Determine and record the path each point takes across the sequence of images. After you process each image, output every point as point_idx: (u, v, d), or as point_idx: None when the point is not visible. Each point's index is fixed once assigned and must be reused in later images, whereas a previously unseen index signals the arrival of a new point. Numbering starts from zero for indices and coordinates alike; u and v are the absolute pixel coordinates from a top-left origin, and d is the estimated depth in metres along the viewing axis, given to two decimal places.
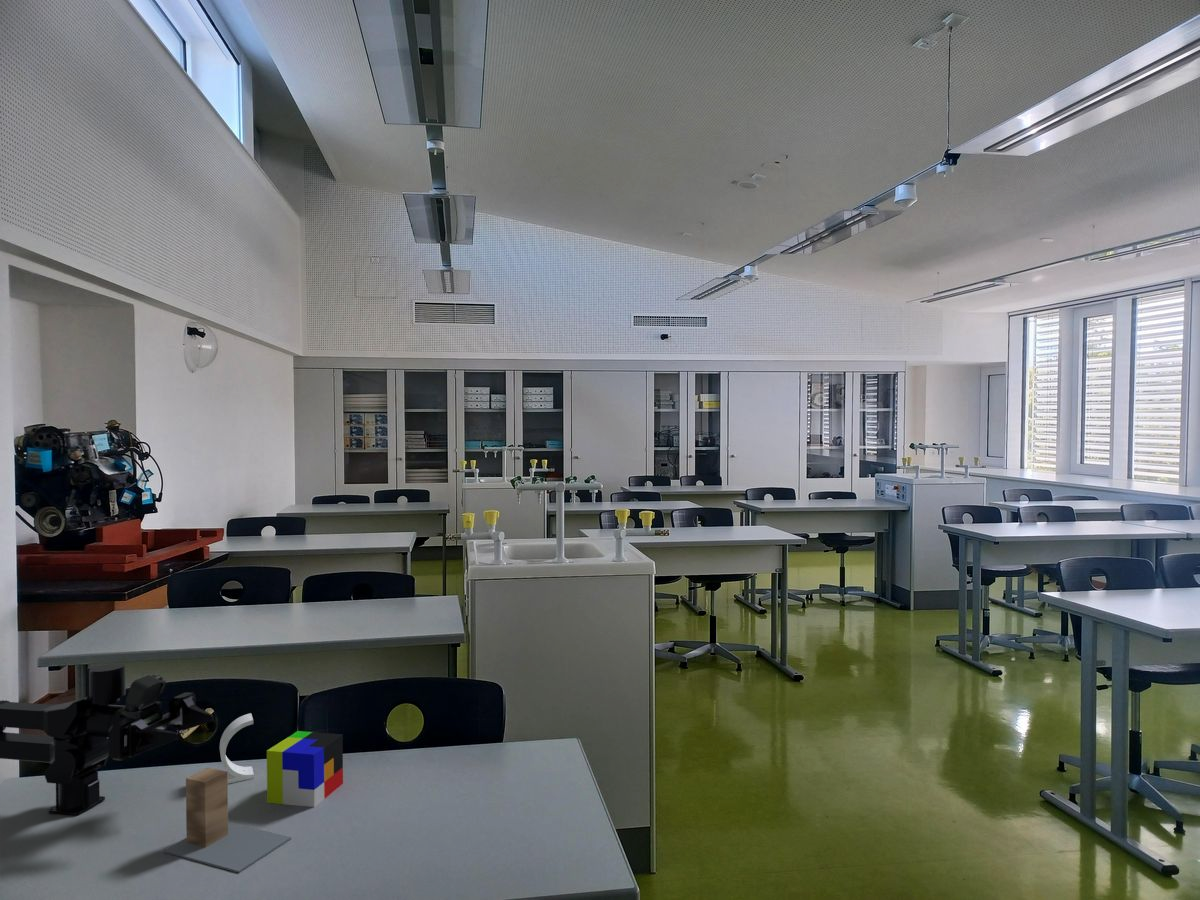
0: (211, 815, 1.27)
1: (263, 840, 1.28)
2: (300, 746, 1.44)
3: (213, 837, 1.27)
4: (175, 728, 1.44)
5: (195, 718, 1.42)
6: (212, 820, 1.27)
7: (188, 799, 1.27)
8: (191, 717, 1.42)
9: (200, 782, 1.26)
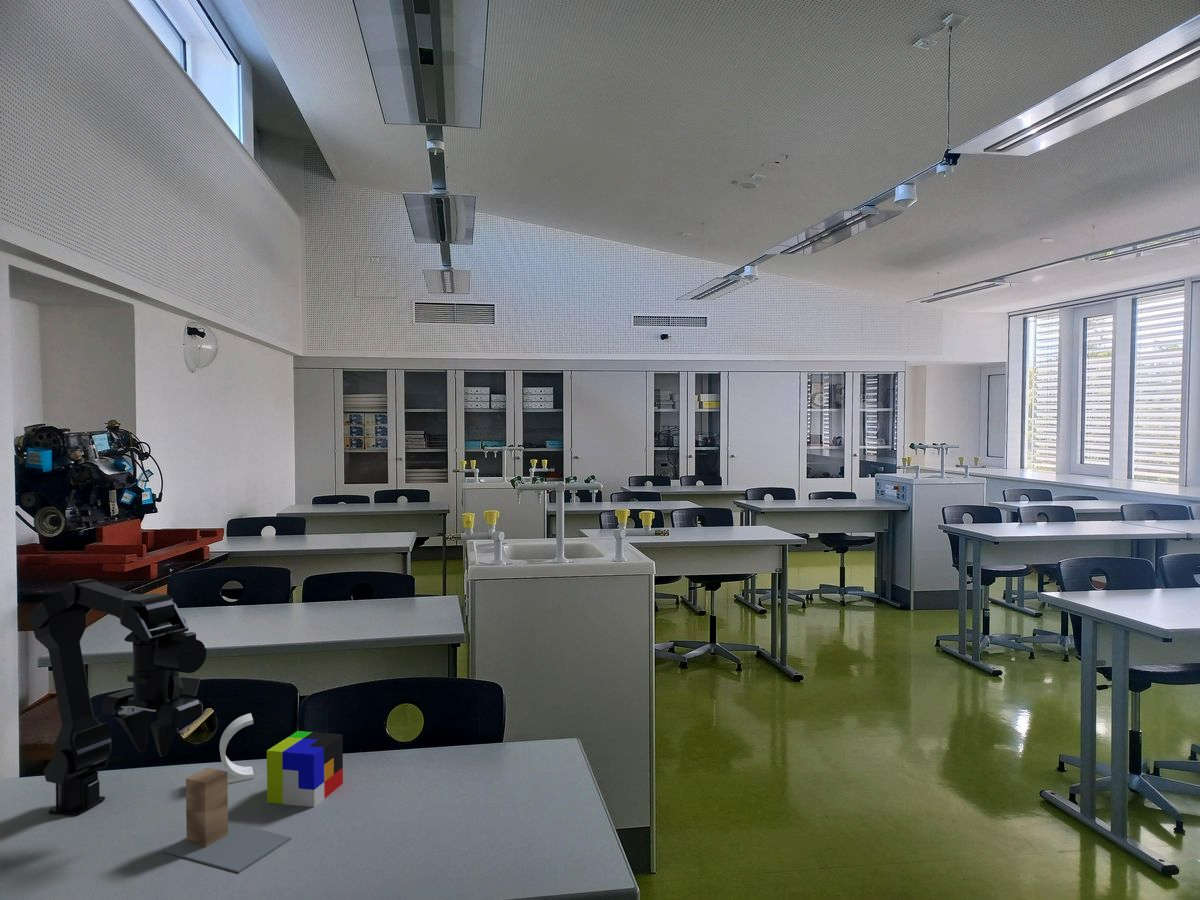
0: (211, 815, 1.27)
1: (263, 840, 1.28)
2: (300, 746, 1.44)
3: (213, 837, 1.27)
4: (116, 707, 1.33)
5: (139, 731, 1.34)
6: (212, 820, 1.27)
7: (188, 799, 1.27)
8: (139, 725, 1.34)
9: (200, 782, 1.26)
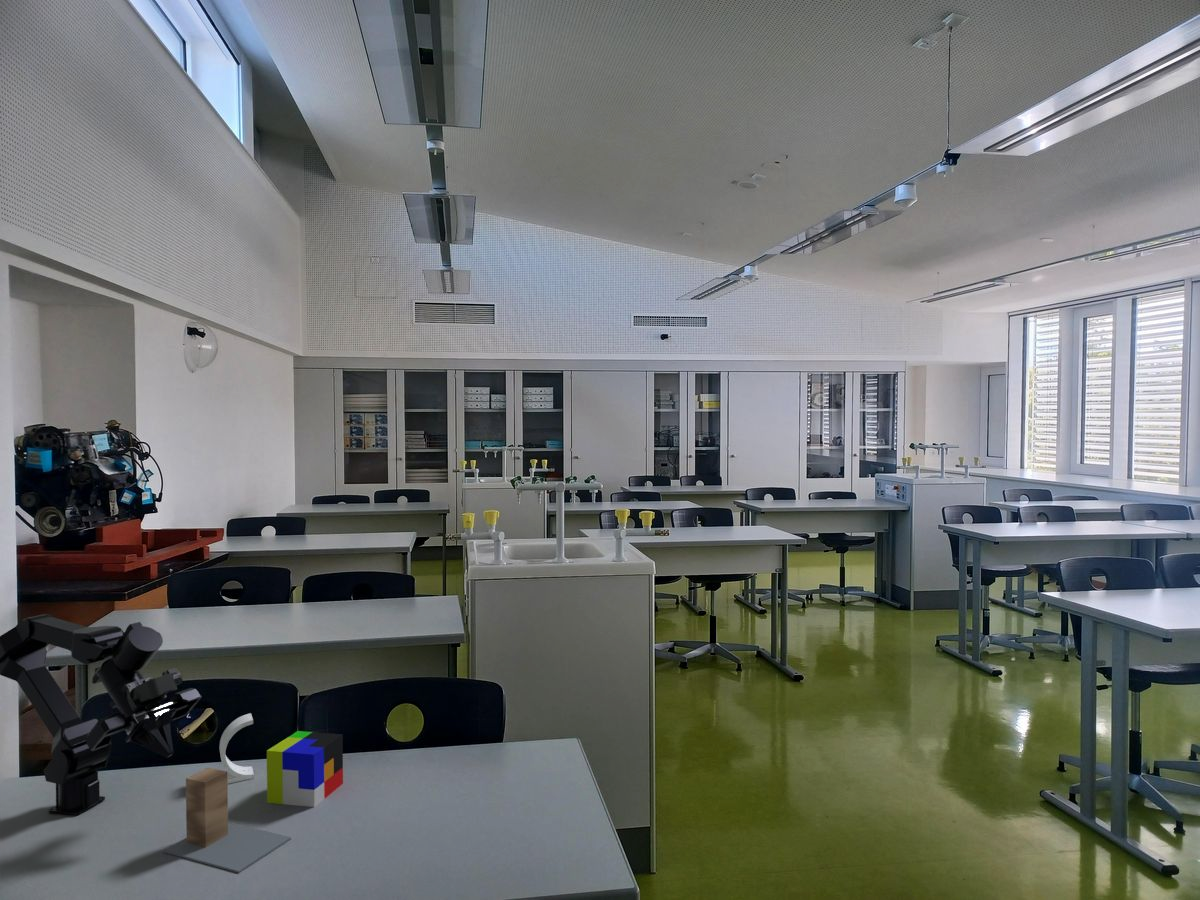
0: (211, 815, 1.27)
1: (263, 840, 1.28)
2: (300, 746, 1.44)
3: (213, 837, 1.27)
4: None
5: None
6: (212, 820, 1.27)
7: (188, 799, 1.27)
8: None
9: (200, 782, 1.26)
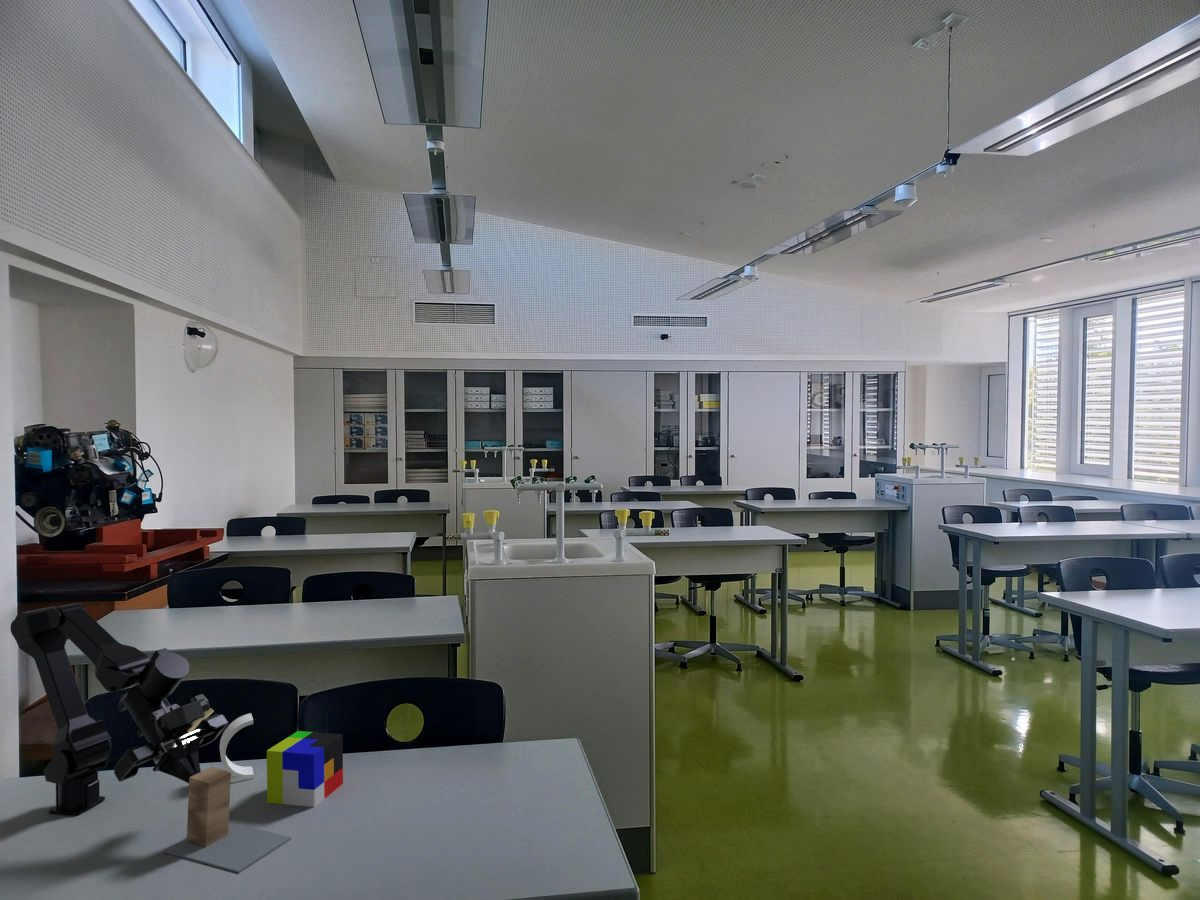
0: (213, 815, 1.27)
1: (263, 840, 1.28)
2: (300, 746, 1.44)
3: (213, 837, 1.27)
4: None
5: None
6: (213, 820, 1.27)
7: (190, 798, 1.27)
8: None
9: (203, 783, 1.26)
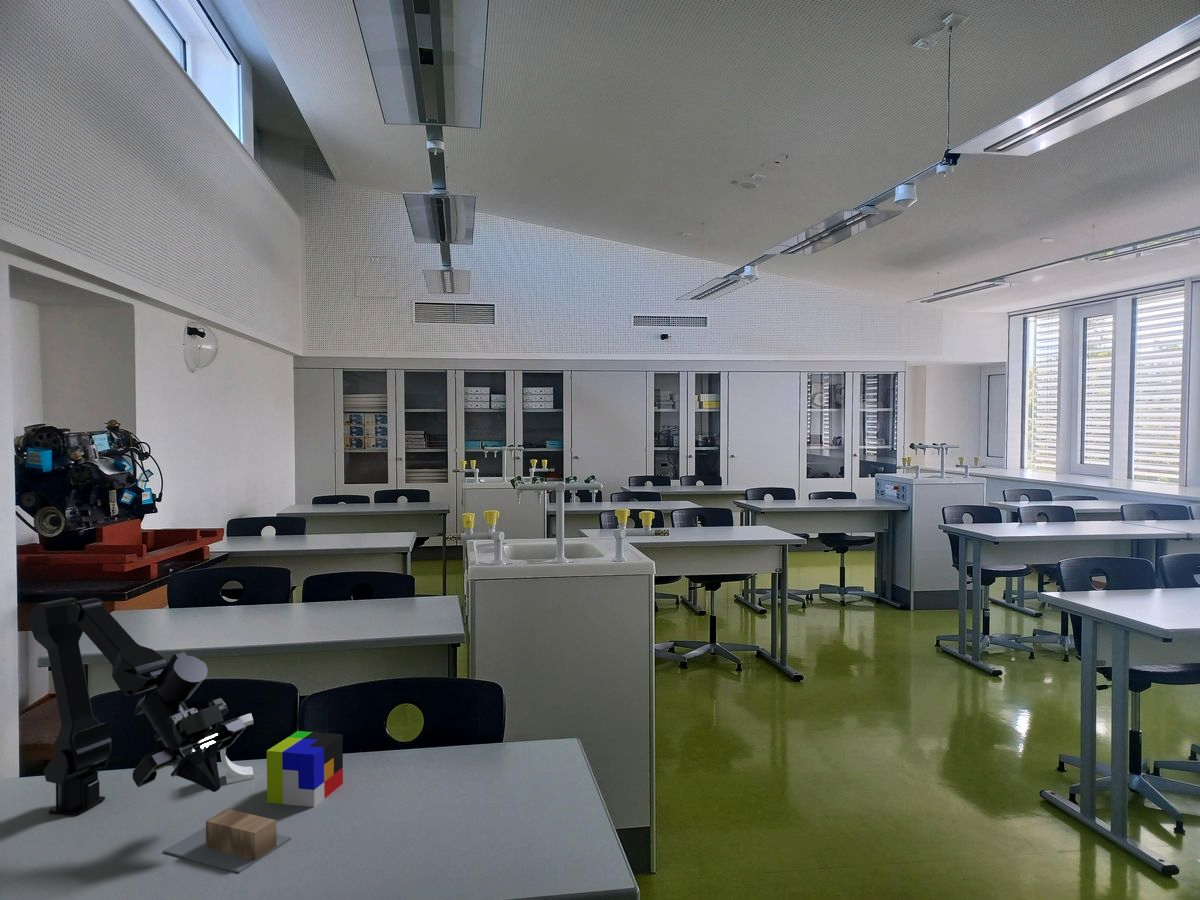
0: None
1: None
2: (300, 746, 1.44)
3: None
4: None
5: None
6: None
7: (238, 832, 1.23)
8: None
9: (254, 853, 1.22)
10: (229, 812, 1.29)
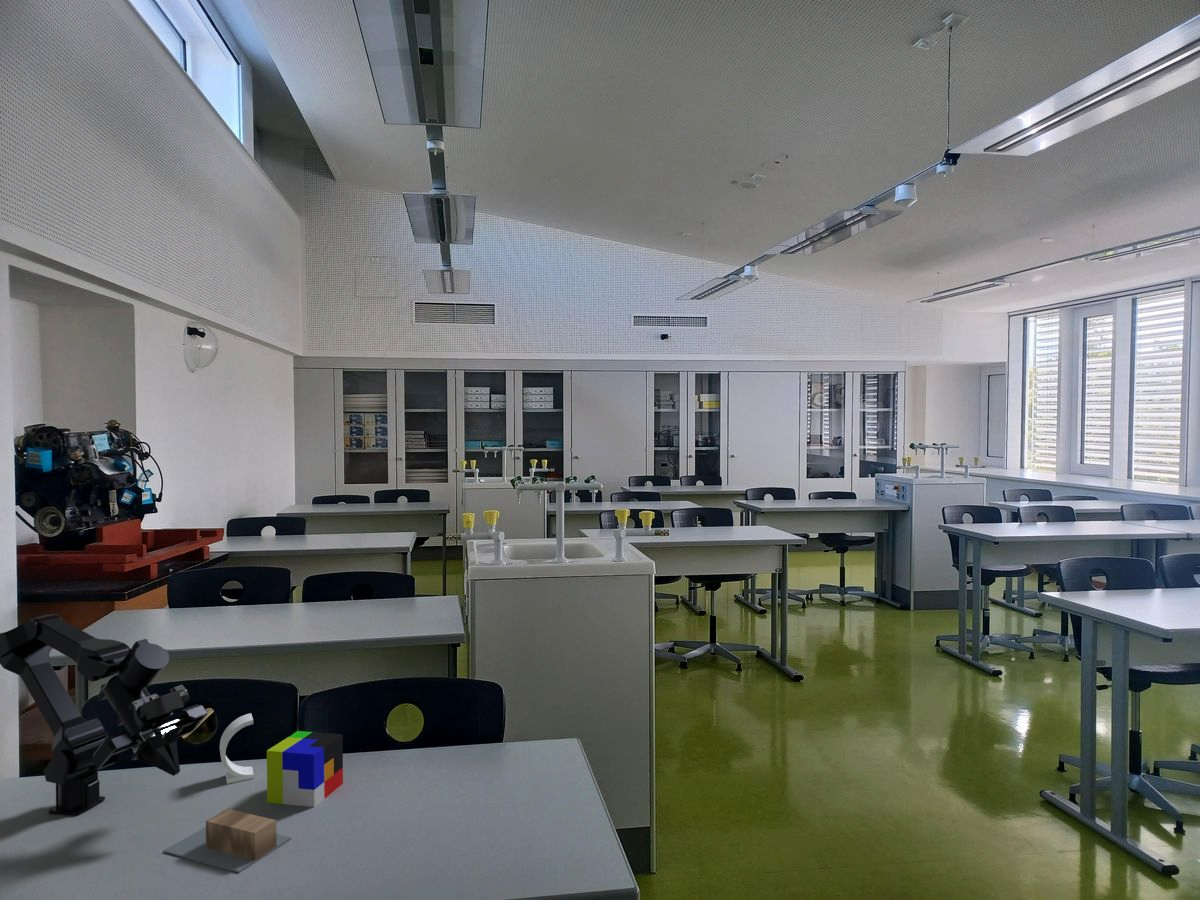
0: None
1: None
2: (300, 746, 1.44)
3: None
4: None
5: None
6: None
7: (238, 832, 1.23)
8: None
9: (254, 853, 1.22)
10: (229, 812, 1.29)
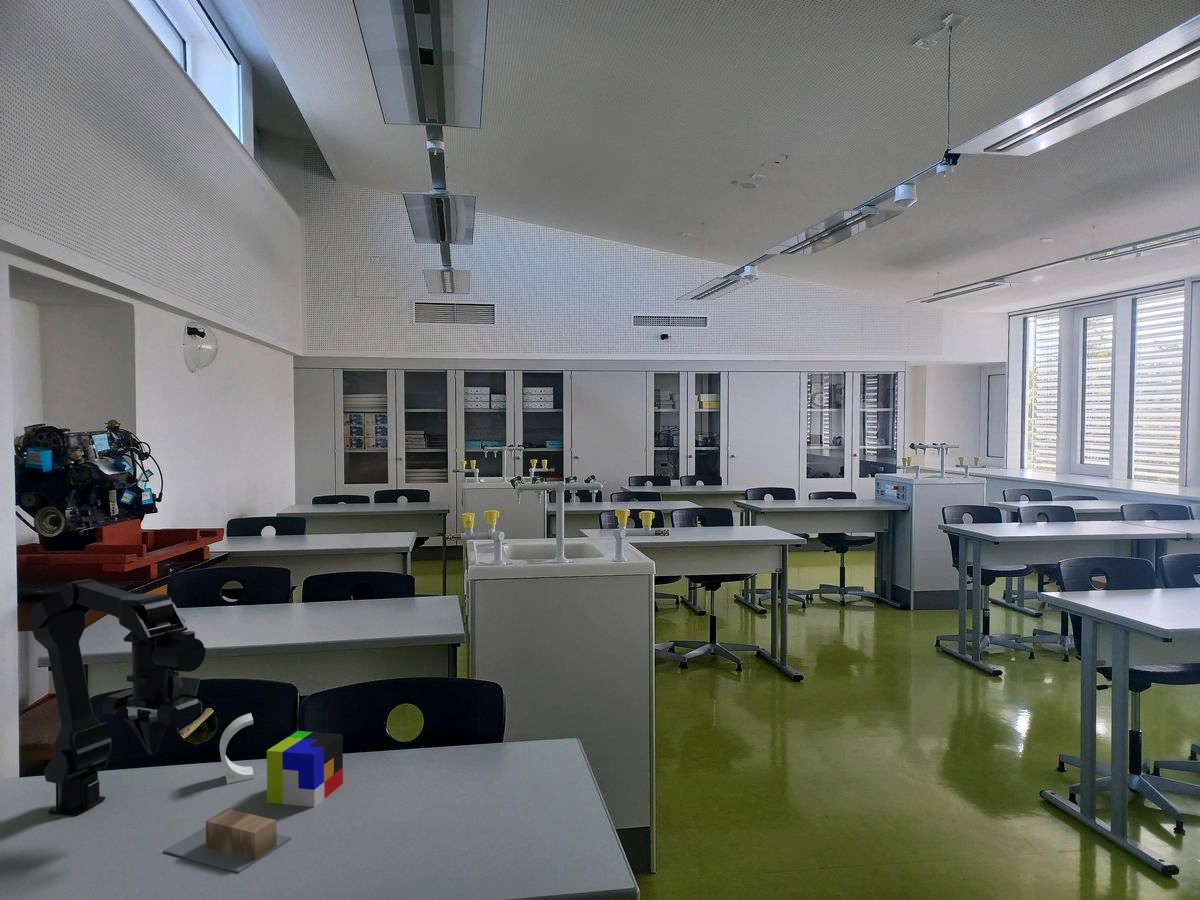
0: None
1: None
2: (300, 746, 1.44)
3: None
4: (116, 707, 1.33)
5: None
6: None
7: (238, 832, 1.23)
8: None
9: (254, 853, 1.22)
10: (229, 812, 1.29)
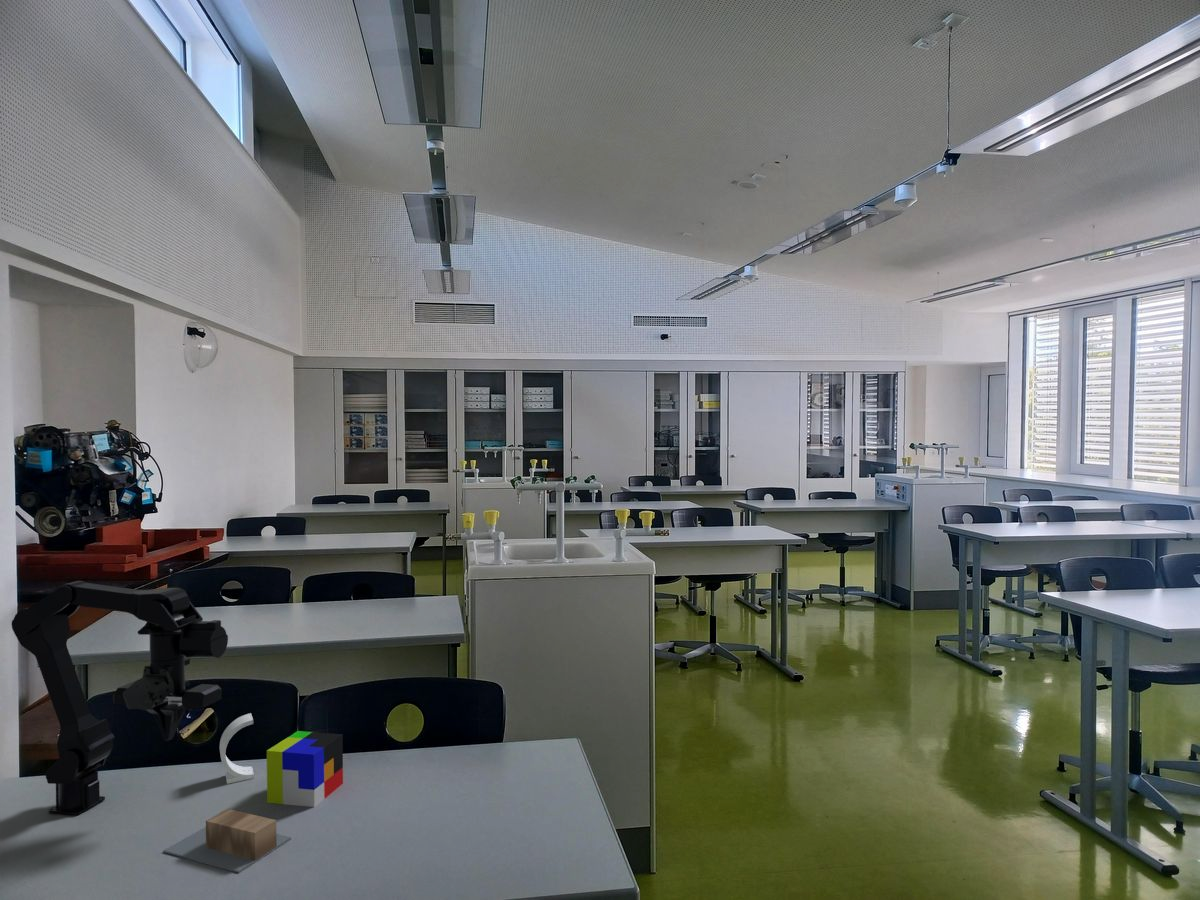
0: None
1: None
2: (300, 746, 1.44)
3: None
4: None
5: None
6: None
7: (238, 832, 1.23)
8: None
9: (254, 853, 1.22)
10: (229, 812, 1.29)
